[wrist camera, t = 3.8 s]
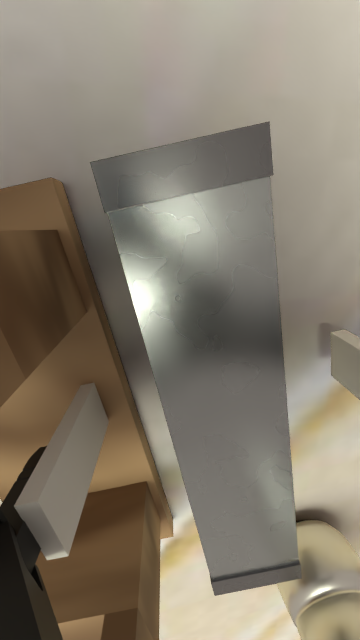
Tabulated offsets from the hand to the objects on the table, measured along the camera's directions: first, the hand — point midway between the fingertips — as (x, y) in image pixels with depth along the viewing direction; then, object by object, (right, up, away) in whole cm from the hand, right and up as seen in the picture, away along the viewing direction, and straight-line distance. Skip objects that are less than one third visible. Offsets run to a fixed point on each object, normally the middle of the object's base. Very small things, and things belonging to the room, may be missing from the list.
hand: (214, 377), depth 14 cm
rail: (0, +1, +1) cm, 1 cm away
